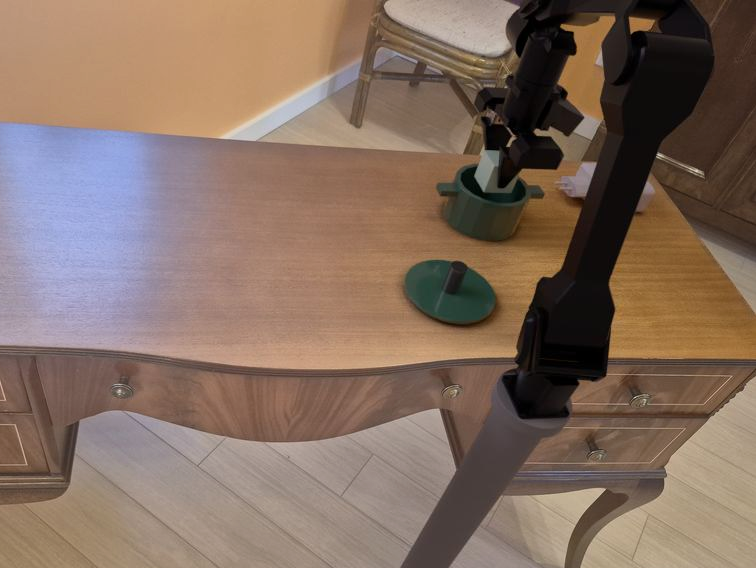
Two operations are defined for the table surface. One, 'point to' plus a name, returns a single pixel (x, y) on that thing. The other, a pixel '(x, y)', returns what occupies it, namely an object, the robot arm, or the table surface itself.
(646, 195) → the charger
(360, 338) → the table surface
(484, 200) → the pot
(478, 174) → the block
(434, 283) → the lid
